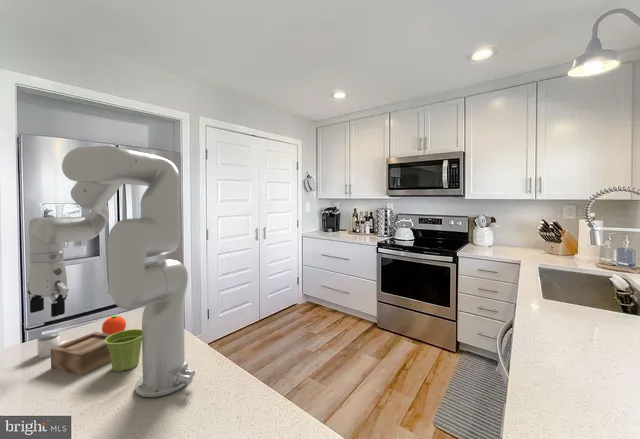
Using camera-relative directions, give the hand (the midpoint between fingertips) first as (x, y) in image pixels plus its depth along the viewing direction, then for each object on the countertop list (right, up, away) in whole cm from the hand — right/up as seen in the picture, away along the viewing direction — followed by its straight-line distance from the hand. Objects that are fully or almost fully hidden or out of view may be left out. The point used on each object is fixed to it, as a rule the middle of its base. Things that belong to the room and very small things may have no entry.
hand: (47, 313), depth 87 cm
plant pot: (+29, -13, -7) cm, 32 cm away
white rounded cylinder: (+1, -13, 0) cm, 13 cm away
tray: (+16, -13, -4) cm, 21 cm away
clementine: (+11, -13, +14) cm, 21 cm away
